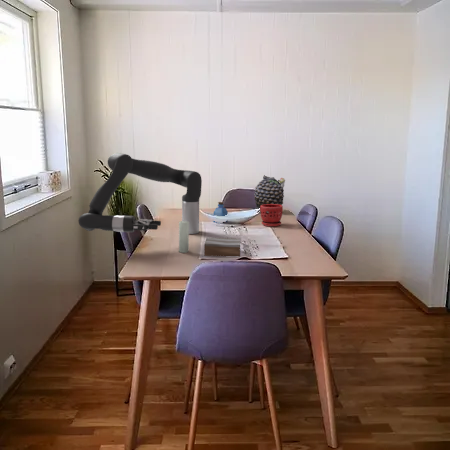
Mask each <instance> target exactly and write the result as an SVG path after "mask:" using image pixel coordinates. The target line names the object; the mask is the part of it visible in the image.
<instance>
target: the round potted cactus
mask: <svg viewBox="0 0 450 450" xmlns="http://www.w3.org/2000/svg"><path fill="white" fill-rule="evenodd" d="M285 183H286V179H285V178H283V177H281V178H279V179H278V180H277V179H276V178H275V177H270V176H266V175H265V174H264V175H263V178H262V180H260V181H259V182H258V183H257V185H256V186H255V188H254V194H253V196H254V200H255V202H254V203H255V208H254V209H259V208H260V206H261V205H264V204H278V205H282V206H283V204H284V197H285V195H284V193H285V192H284V187H285ZM267 213H269V212H268V211H267Z"/></svg>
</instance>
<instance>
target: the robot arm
mask: <svg viewBox="0 0 450 450" xmlns="http://www.w3.org/2000/svg"><path fill="white" fill-rule="evenodd" d="M107 166H108V168H109V169H110V170H111V171H112V172H111V173H110V175H109V177H108V179H106V181H105V182H104V183H103V184H102V185H101V186H100V187H99V188H98V189H97V191H96V192H95V194H94V196H93V197H92V198H91V201H90V203H89V205H88V206H89V210H88V212H87V213H83V214H81V215H80V216H79V218H78V224H79V226H80V227H81V228H82V229H84V230H86V231H89V232H93V231H95V230H98V229H99V230H101V231H108V232H109V231H110V232H118V233H134V232H135V231H145V232H146V231H148V230H154V231H156V230H158V229H159V227H160V226H161V224H162V221H161V220H154V219H152V218H139V219H138V220H136V217H135V216H134V215H118V214H117V215H109V214H108V215H103V213H104V211H105V209H106V207H107V206H108V204H109V202H110V200H111V198H112V196H113V195H114V194H115V192H116V191H117V189H118V187H119V186H120V185H121V183H123V181H124V179H125V178H126V177H127V176H128V174H131V175H135V176H136V177H137V176H138V177H141V178H144V179H147V180H150V181H154V182H160V183H170V184H176V185H178V186H181V187H183V188H186V193H185V194H183V195H182V197H181V200H182V201H181V213H182V214H181V221H188V222H189V235H196V234H199V233H200V199H201V195H202V186H203V185H202V181H203V180H202V175H201V174H200V173H199V172H198V171H193V170H184V169H176V168H173V167H171V166H169V165H167V164H165V163H161V162H157V161H152V160H145V159H144V160H143V159H136V158H132V156H130V155H129V154H126V153H121V152H120V153H119V152H116V153H113V154H111V155H110V156H108V158H107Z"/></svg>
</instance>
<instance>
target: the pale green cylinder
mask: <svg viewBox="0 0 450 450" xmlns="http://www.w3.org/2000/svg"><path fill="white" fill-rule="evenodd" d="M189 237H190V234H189V222H188V221H182V220H180V221H178V253H181V254H186V253H189V245H190V244H189V240H190V239H189Z"/></svg>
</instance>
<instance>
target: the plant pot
mask: <svg viewBox="0 0 450 450" xmlns="http://www.w3.org/2000/svg"><path fill="white" fill-rule="evenodd" d="M283 210H284V208H283V204H282V205H278V204H264V205H261V206H260V212H259V213H260V217H261V220H262V221H261V224H262V226H265V227H279V226H280V225H282V221H281V219H282V216H283V212H284V211H283ZM267 211H268V212H269V213H267Z"/></svg>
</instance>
